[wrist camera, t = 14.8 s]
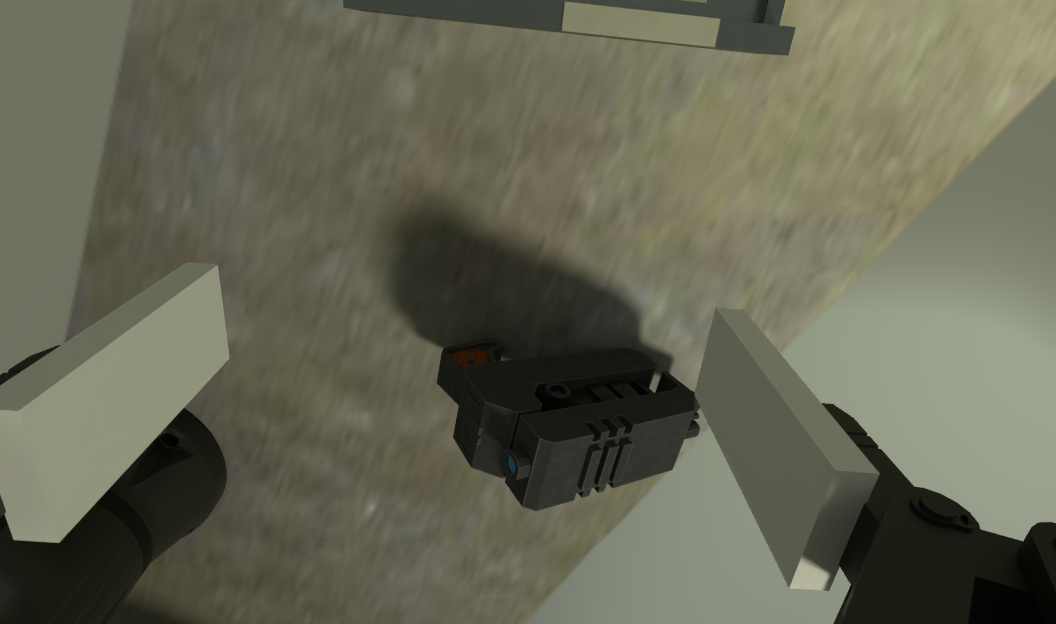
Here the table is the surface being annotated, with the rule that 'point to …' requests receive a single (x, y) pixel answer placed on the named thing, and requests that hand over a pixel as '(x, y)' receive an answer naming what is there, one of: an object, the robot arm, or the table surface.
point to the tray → (619, 19)
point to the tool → (565, 419)
